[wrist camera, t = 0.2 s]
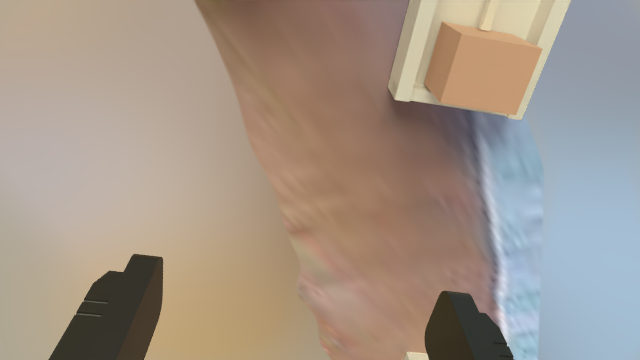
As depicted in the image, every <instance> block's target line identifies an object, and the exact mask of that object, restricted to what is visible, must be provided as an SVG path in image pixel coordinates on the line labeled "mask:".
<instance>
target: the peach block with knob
mask: <svg viewBox="0 0 640 360" xmlns="http://www.w3.org/2000/svg"><path fill="white" fill-rule="evenodd" d="M499 2H500V0H487V3H486V6H485V9H484V12H483V15H482V18H481V21H480V24H479V27H478V28H475V27H469V26H464V25H459V24H453V23H448V22H443V21H442V23H441V26H440V30H439V33H438V37H437V40H436V43H435V47H434V50H433V54H432V57H431V60H430V64H429V67H428V71H427V74H426V78H425V81H424V84H425V85H426V86H427V87H428V89H429V90H430V91H431V92H432V94H433V95H434V96H435V97H436V98H437V100H438V101H439V102H440V103H444V104H450V105H456V106H462V107H468V108H475V109H481V110H487V111H493V112H499V113H505V114H511V115H516V114H517V111H518V109H519V106H520V104H521V101H522V99H523V96H524V94H525V92H526V89H527V87H528V84H529V82H530V79H531V77H532V74H533V72H534V69H535V67H536V64H537V62H538V60H539V57H540V55H541V52H542V50H543V49H542V48H540V47H538V46H536V45H534V44H532V43H530V42H528V41H526V40H523V39H521V38H519V37H517V36H515V35H513V34H507V33H502V32H496V31H491V30H490V29H491V26H492V23H493V20H494V17H495V14H496V11H497V8H498V5H499Z"/></svg>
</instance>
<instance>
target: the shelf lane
mask: <svg viewBox="0 0 640 360" xmlns="http://www.w3.org/2000/svg"><path fill="white" fill-rule="evenodd" d="M570 1H571V0H500V2H499V5H498V8H497V11H496V14H495V17H494V20H493V23H492V26H491V29H490V30H491V31H496V32H502V33H507V34H513V35H515V36H517V37H519V38H521V39H523V40H526V41H528V42H530V43H532V44H534V45H536V46H538V47H540V48H542V49H543V50H542V52H541V55H540V57H539V60H538V62H537V64H536V67H535V69H534V72H533V74H532V77H531V79H530V82H529V84H528V87H527V89H526V92H525V94H524V96H523V99H522V101H521V104H520V106H519V109H518V111H517V114H516V115H511V114H505V113H499V112H493V111H487V110H481V109H475V108H468V107H462V106H456V105H450V104H444V103H440V102H439V101H438V100H437V98H436V97H435V96H434V95H433V94H432V92H431V91H430V90H429V89H428V87H427V86H426V85H425V84H424V81H425V78H426V74H427V71H428V67H429V64H430V60H431V57H432V54H433V50H434V47H435V43H436V40H437V37H438V33H439V30H440V26H441V23H442V21H443V22H448V23H453V24H459V25H464V26H469V27H475V28H478V27H479V24H480V21H481V18H482V15H483V12H484V9H485V6H486V3H487V0H410V1H409V5H408V8H407V12H406V16H405V20H404V24H403V28H402V32H401V36H400V40H399V44H398V48H397V52H396V56H395V60H394V63H393V67H392V71H391V75H390V79H389V83H388V88H389V90H390V92H391V94H392V96H393V97H394V99H395V100H399V101H406V102H409V101H410V100H411V101H417V102H423V103H429V104H435V105H441V106H447V107H454V108H460V109H466V110H472V111H478V112H484V113H490V114H497V115H503V116H506V117H507V118H510V119H517V120H522V118H523V115H524V113H525V110H526V108H527V105H528V103H529V100H530V98H531V95H532V93H533V91H534V89H535V86H536V84H537V81H538V79H539V76H540V74H541V72H542V69H543V67H544V64H545V62H546V60H547V57H548V55H549V52H550V50H551V47H552V45H553V43H554V40H555V37H556V35H557V33H558V31H559V28H560V26H561V23H562V21H563V19H564V16H565V14H566V11H567V9H568V7H569V4H570Z"/></svg>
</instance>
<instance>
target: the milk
mask: <svg viewBox="0 0 640 360" xmlns="http://www.w3.org/2000/svg"><path fill="white" fill-rule="evenodd" d="M404 360H429V358H428V355H427V354H426V353H415V352H407V353H406V355H405V358H404Z"/></svg>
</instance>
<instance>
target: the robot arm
mask: <svg viewBox="0 0 640 360" xmlns="http://www.w3.org/2000/svg"><path fill="white" fill-rule="evenodd" d="M162 289H163V258H162V257H156V256H148V255H139V254H134V255H133V256H132V257H131V259H130V261H129V263H128V264H127V267H126V268H125V270H124V272H116V271H109V272H107V273H106V274H105V275H103V276H102V277H101V278H100V279H98V280H97V281H96V282H94V283H93V285H92V286H91V288H90V290H89V292H88V293H87V295H86V297H85V299H84V302H82V304H81V305H80V307H79V309H78V311H77V313H76V315H75V316H74V317H73V319H72V321H71V322H70V324H69V326H68V328H67V329H66V331H65V333H64V334H63V336H62V338H61V340H60V341H59V343H58V345H57V346H56V348H55V350H54V351H53V353H52V355H51V356H50V358H49V360H144V358H145V355H146V352H147V350H148V347H149V344H150V341H151V339H152V336H153V333H154V331H155V327H156V325H157V322H158V319H159V315H160V311H161V306H162V293H163V290H162ZM425 347H426V351H427V355H428V358H429V360H513V355H512V353H511V351H510V349H509V347H507V343H506V341H505V339H504V337H503V335H502V333H501V331H500V329H499V327H498V326H497V325H496V324H495V323H494V322H493V321H492V320H491V319H490V317H489V316H488V315H487V314H486V313H479V311H478V309H477V307H476V305H475V303H474V300H473V298H472V296H471V295H470V294H468V293H460V292H451V291H442V292H441V294H440V295H439V298H438V300H437V302H436V305H435V307H434V310H433V312H432V315H431V317H430V319H429V322H428V324H427V327H426V331H425Z"/></svg>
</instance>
